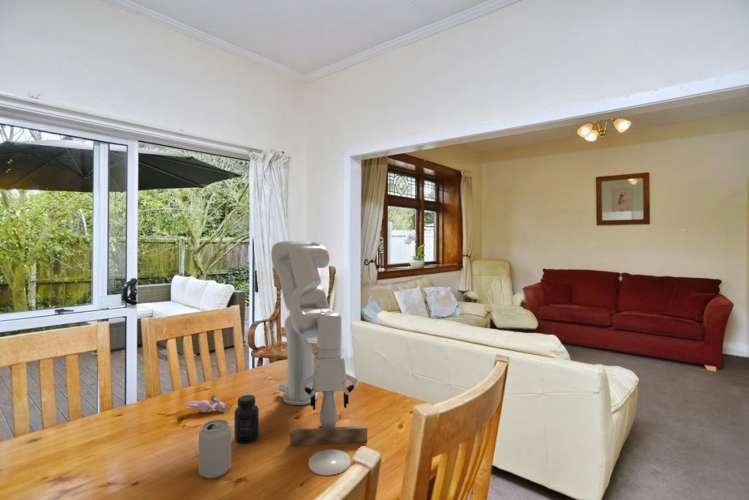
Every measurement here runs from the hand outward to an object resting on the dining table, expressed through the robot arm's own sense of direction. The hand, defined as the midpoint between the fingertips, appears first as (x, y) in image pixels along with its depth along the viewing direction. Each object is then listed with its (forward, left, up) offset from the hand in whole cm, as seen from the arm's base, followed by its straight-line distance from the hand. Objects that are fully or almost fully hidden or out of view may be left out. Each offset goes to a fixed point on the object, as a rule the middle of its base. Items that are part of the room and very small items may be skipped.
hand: (329, 407), depth 118 cm
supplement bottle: (-21, -14, -6) cm, 25 cm away
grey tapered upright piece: (-1, 0, -6) cm, 6 cm away
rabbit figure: (-43, -3, -7) cm, 44 cm away
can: (-19, -29, -6) cm, 35 cm away
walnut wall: (+3, -9, -6) cm, 11 cm away
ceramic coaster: (+7, -17, -6) cm, 20 cm away
